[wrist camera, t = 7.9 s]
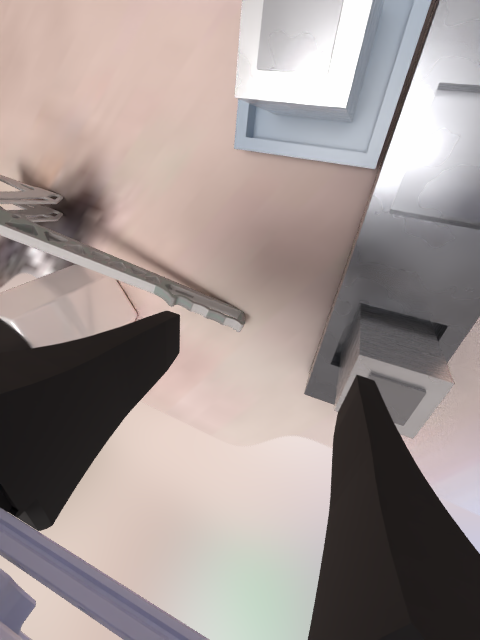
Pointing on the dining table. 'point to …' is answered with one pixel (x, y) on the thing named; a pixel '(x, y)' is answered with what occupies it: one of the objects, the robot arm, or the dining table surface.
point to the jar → (62, 309)
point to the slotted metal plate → (421, 202)
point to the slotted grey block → (395, 365)
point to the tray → (372, 108)
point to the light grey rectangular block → (305, 55)
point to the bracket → (99, 254)
